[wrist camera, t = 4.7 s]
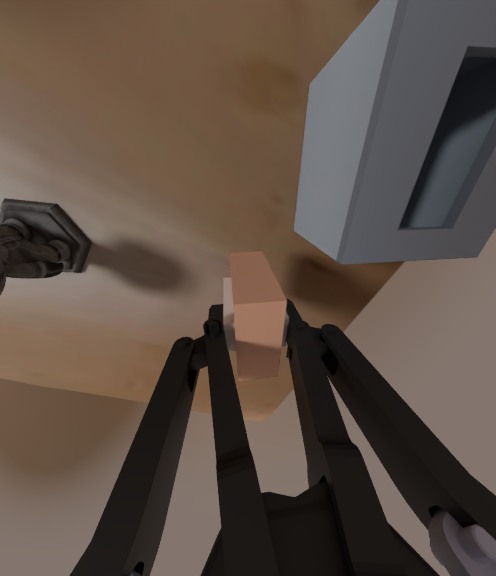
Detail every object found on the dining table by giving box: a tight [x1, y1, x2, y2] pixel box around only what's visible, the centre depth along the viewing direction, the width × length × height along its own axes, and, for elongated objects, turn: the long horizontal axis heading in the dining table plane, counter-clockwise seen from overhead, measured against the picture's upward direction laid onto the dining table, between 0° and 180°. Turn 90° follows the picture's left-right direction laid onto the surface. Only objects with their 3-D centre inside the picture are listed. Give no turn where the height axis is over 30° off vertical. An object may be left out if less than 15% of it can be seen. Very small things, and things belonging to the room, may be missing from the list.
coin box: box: [294, 0, 496, 264], centre depth 17 cm, size 14×12×12 cm
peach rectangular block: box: [230, 251, 287, 381], centre depth 15 cm, size 7×3×8 cm, turn 1°
